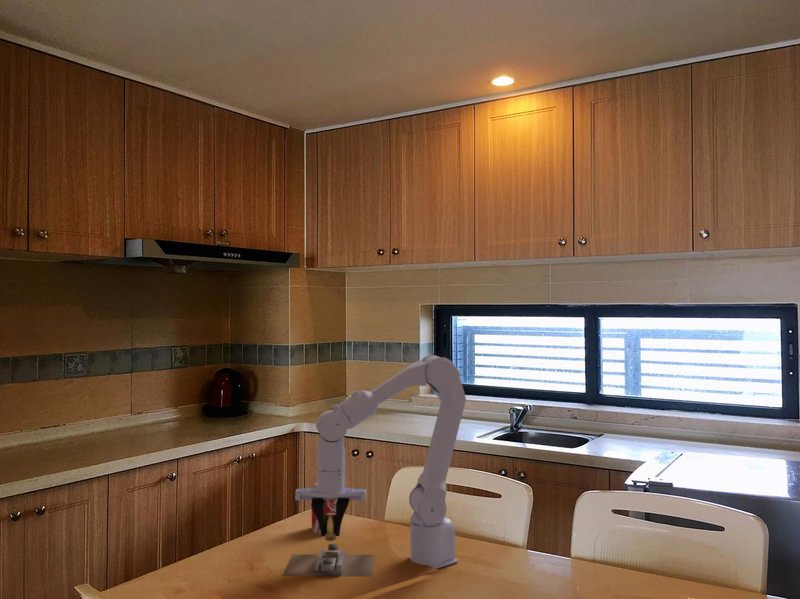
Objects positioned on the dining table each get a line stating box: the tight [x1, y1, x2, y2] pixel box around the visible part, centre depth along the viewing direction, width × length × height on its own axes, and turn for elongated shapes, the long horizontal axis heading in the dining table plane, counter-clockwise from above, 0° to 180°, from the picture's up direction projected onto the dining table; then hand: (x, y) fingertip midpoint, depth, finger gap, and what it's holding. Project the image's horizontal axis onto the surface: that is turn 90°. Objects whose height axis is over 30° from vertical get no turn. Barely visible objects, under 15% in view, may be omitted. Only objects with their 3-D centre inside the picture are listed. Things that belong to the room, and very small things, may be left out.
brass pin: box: [324, 513, 337, 542], centre depth 142 cm, size 2×2×5 cm
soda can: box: [311, 482, 337, 535], centre depth 165 cm, size 7×7×12 cm
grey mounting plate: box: [281, 543, 376, 577], centre depth 142 cm, size 18×12×4 cm, turn 89°
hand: (330, 534), depth 142 cm, fingers closed on brass pin, 2 cm apart
